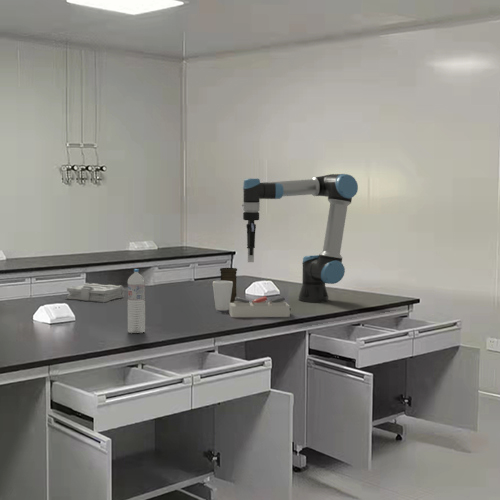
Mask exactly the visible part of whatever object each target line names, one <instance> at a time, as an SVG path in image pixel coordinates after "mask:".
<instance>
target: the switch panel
mask: <svg viewBox="0 0 500 500" xmlns="http://www.w3.org/2000/svg"><path fill="white" fill-rule="evenodd" d="M290 307H291V306H290V305H289V304H288V302H286V301H285V300H284V301H280V302H276V303H271V301H270V300H269V301H268V302H267V300H265V301H262V302H259V303H253V300H251V302H249V303H244V302H240V301H234V303H229V310H228V313H229V316H230V317H231V318H288V317H289V318H290V315H291V314H290V312H291V310H292V309H291V308H290Z"/></svg>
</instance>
